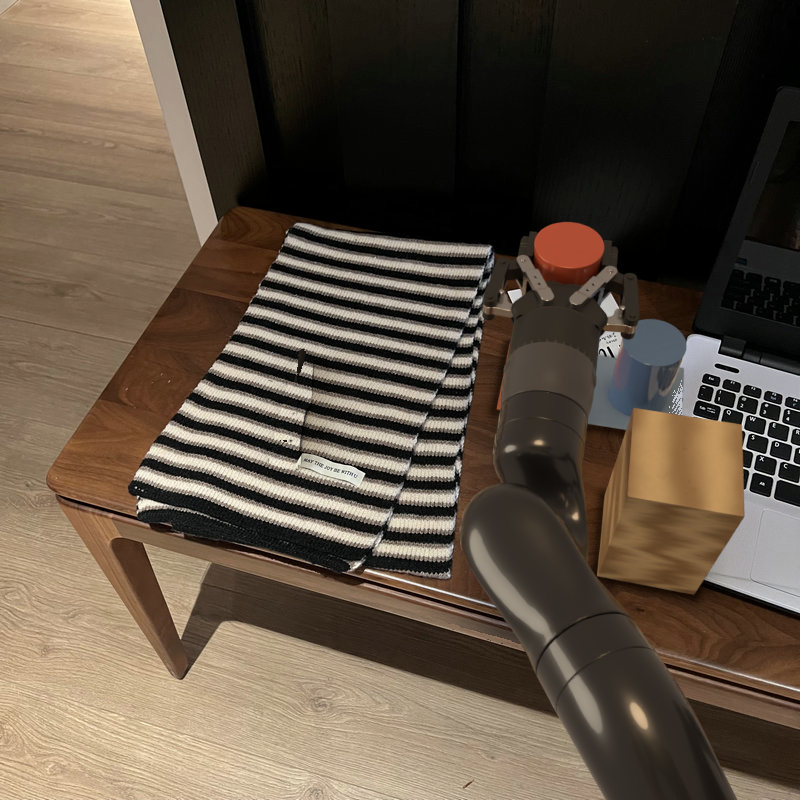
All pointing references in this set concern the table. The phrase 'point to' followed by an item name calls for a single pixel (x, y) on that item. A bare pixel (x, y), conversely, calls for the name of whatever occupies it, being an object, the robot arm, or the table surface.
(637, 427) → the stand
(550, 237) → the orange cylinder
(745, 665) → the table surface
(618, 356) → the upturned slate cup
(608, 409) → the board
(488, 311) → the robot arm
